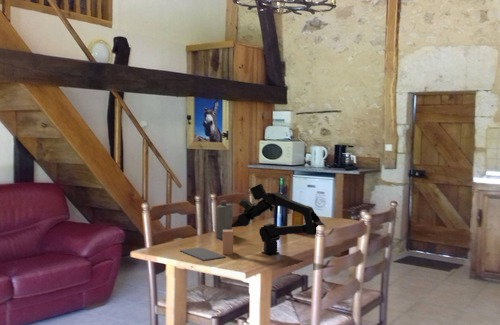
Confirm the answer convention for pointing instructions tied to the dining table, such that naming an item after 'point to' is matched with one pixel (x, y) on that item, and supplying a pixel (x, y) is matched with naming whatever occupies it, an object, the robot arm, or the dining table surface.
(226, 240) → the terracotta block
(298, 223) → the baking soda box
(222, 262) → the dining table surface
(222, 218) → the flask
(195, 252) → the charcoal mat
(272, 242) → the robot arm
